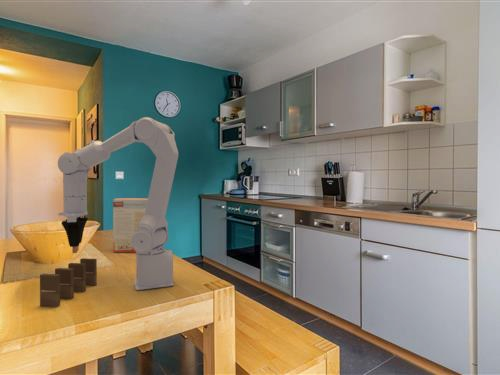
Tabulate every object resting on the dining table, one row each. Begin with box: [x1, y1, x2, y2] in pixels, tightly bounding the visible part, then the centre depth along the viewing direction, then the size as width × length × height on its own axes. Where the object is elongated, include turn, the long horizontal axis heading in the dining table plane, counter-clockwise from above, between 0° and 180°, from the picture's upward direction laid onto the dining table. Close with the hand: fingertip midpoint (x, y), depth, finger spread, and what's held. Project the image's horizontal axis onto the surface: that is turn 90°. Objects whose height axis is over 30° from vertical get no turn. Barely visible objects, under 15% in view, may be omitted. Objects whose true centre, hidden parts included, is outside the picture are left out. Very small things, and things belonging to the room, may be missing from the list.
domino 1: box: [39, 273, 61, 308], centre depth 68 cm, size 1×4×7 cm, turn 84°
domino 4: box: [67, 262, 87, 293], centre depth 77 cm, size 1×4×7 cm, turn 84°
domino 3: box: [71, 245, 80, 254], centre depth 86 cm, size 1×4×7 cm, turn 23°
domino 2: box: [54, 267, 75, 300], centre depth 72 cm, size 1×4×7 cm, turn 84°
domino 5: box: [79, 257, 98, 287], centre depth 81 cm, size 1×4×7 cm, turn 84°
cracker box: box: [112, 197, 148, 254], centre depth 119 cm, size 14×6×21 cm, turn 84°
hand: (75, 244), depth 86 cm, fingers closed on domino 3, 4 cm apart
